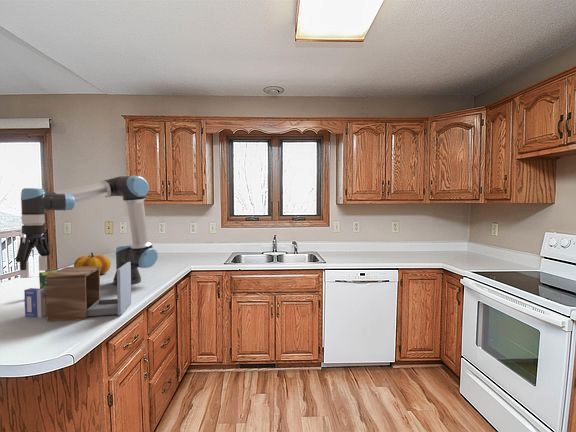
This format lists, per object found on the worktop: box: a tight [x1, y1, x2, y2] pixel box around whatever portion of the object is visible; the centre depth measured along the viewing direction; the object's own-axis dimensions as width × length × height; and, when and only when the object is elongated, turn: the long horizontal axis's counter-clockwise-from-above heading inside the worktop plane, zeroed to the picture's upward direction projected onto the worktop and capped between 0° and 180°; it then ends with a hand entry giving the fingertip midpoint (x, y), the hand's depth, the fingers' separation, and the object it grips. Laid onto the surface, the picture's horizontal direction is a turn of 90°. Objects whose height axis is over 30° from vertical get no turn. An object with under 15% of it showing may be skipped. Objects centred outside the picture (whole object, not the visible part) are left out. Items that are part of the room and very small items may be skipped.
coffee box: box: [38, 268, 60, 289], centre depth 158 cm, size 8×3×13 cm, turn 150°
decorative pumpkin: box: [73, 252, 111, 275], centre depth 203 cm, size 20×22×15 cm
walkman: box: [23, 287, 47, 318], centre depth 130 cm, size 8×3×12 cm, turn 84°
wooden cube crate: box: [46, 266, 101, 323], centre depth 133 cm, size 17×14×19 cm
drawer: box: [87, 262, 132, 317], centre depth 137 cm, size 17×14×20 cm
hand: (34, 273), depth 129 cm, fingers open, 13 cm apart
